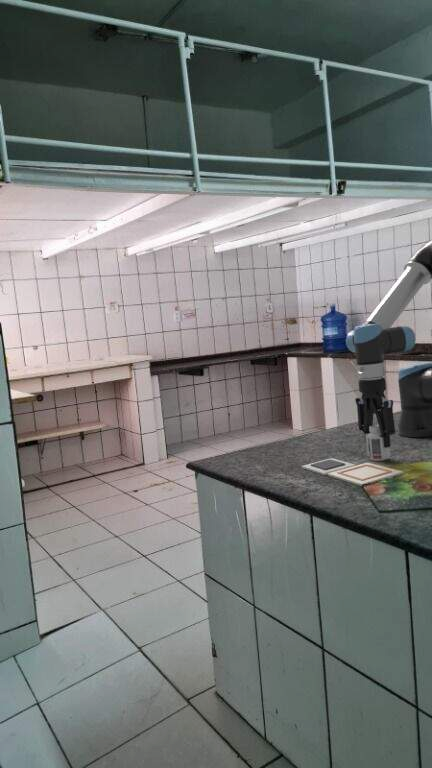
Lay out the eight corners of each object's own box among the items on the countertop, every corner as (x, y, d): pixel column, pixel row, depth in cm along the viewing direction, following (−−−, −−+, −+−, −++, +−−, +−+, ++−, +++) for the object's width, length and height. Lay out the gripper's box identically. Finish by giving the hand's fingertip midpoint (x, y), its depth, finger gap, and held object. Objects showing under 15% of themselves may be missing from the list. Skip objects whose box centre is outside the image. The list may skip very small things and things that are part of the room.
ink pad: (331, 460, 170) (331, 456, 170) (355, 466, 160) (355, 463, 160) (301, 468, 166) (301, 464, 166) (324, 475, 156) (323, 471, 156)
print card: (367, 464, 161) (367, 461, 161) (403, 473, 148) (403, 470, 148) (327, 475, 155) (327, 472, 155) (361, 486, 143) (361, 483, 142)
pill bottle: (392, 458, 164) (389, 425, 163) (380, 462, 162) (377, 429, 161) (377, 455, 169) (375, 423, 168) (365, 459, 166) (362, 427, 165)
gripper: (341, 378, 169) (348, 453, 172) (383, 381, 153) (391, 464, 155) (360, 374, 173) (367, 448, 175) (404, 377, 156) (411, 458, 158)
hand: (378, 456), depth 165 cm, fingers closed on pill bottle, 5 cm apart
